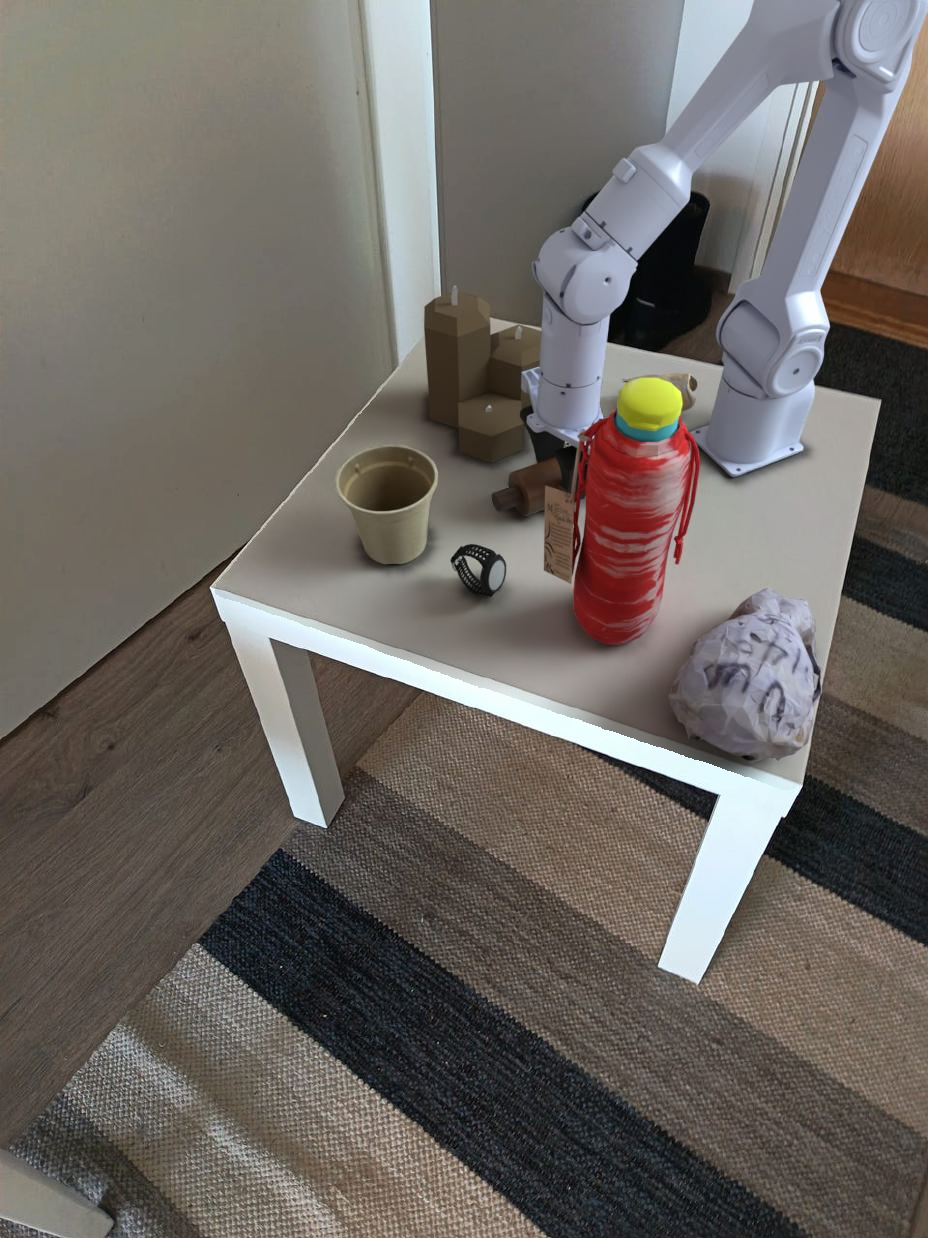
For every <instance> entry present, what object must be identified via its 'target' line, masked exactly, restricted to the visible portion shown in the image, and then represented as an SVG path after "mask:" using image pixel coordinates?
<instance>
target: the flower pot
mask: <svg viewBox="0 0 928 1238" xmlns="http://www.w3.org/2000/svg"><path fill="white" fill-rule="evenodd" d="M438 481H439V472H438V468H437V465H436V464H435V462H434V460H433V459H432V458H431V457H430V456H429V455H427V454H426V453H424V452H423V451H421V450H419V449H416V448H414V447H411V446H409V445H402V444H388V443H387V444H378V445H374V446H369V447H366V448H364V449H362V450H359V451H357V452H355V453H353V454H351V456H349V457H348V458H347V459H346V460H345V461H344V462H343V463H342V464H341V465H340V466H339V468H338V469H337V472H336V474H335V477H334V487H335V491H336V493H337V495H338V497H339V499H340V500H341V502H343V504H344V505H345V506H346V508H347V509H348V511H350V514H351V516H352V519H353V522H354V525H355V527H356V529H357V533H358V535H359V539H360V540H361V543H362V545H363V548H364V551H365V553H366V555H367V556H368V557H369V558H370V559H372V560H374V561H375V562H376V563H379V564H382V565H389V564H391V565H392V564H393V565H394V564H395V565H396V564H397V565H404V564H407V563H410V562H412V561H414V560H415V559H417V558H418V557H420V555H421V554H422V553H423V552H424V550H425V549H426V545H427V542H428V528H429V517H430V506H431V500H432V498H433V496H434V492H435V491H436V488H437V486H438Z"/></svg>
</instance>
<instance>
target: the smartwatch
mask: <svg viewBox="0 0 928 1238" xmlns="http://www.w3.org/2000/svg"><path fill="white" fill-rule="evenodd" d="M467 557H470V558H473V559H474V560H476V561H477V562H478V563H479V564H480V565H481V570H480V578H478V577H477V576H476V575H475V574H474V573H473V571H472V570H471V568H470V566H469V563H468V561H467ZM449 562H450V563H451V567H452V570H453V571H454V572H457V575H458V577H459V579H460V581H461V583H462V584H463V585H464V587H465V588H466V589H467V590H468V591H470V592H471V593H473V594H474V595H478V596H481V597H488V598H492V597H493V596H494V595H495V594H497V592H499V591H500V590H501V588H502V587H503V584H504V583H505V580H506V576H507V562H506V560H505V558H504V557H503V556H502V555H501V553H498V554H497V553H496V551H495V550H493V549H491V548H489V547H485V546H483V545H480V544H475V543H469V544H464V545H463V546H459V548H458V549H457V550H456V552H455V553H454V554H453V555H452V557H451V558H450V561H449Z"/></svg>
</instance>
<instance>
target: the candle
mask: <svg viewBox="0 0 928 1238" xmlns="http://www.w3.org/2000/svg"><path fill="white" fill-rule="evenodd" d="M423 309H424V312H423V313H424V314H423V315H424V316H423V333H424V346H425V358H426V359H425V360H426V376H427V377H426V378H427V390H428V405H429V419H430V420H432V421H434V422H438V423H441V424H444V425H447V426H450V427H453V428H455V429H458V442H459V443H458V445H459V448H458V449H459V453H461V454H464V455H466V456H470V457H473V458H476V459H479V460H481V461H484V462H488V463H490V464H492V463H495V462H498V461H499V460H503V459H505V458H508V457H509V456H512V455H514V454H517V453H519V452H522V451H523V444H524V443H523V442H524V426H525V424H524V422H523V421H522V419H521V417H520V411H521V410H522V409H523V408H525V407H528V406H531V405H532V403H531V399H530V395H529V393H525V392H524V391H523V390H522V389H521V375H522V372H524V371H527V370H530V369H533V368H536V367H540V348H541V330H540V329H536V328H532V327H529V326H525V325H522V324H516V325H514V326H510V327H507V328H504V329H502V330H499V331H496V332H494V333H491V314H490V313H491V312H490V303H487V302H486V301H485V300H483V299H482V298H481V297H479V296H478V295H477V296H476V295H473V294H469V293H465V292H462V291H459V289H458V286H457V285H454V286H453V287H452V291H451V292H449V293H446V294H443V295H440V296H437V297H434V298H433V299H432V300H431V301H429V302H428V303H427V304H426V305H424V308H423Z"/></svg>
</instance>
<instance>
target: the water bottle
mask: <svg viewBox="0 0 928 1238" xmlns="http://www.w3.org/2000/svg"><path fill="white" fill-rule="evenodd" d="M682 405H683V402H682V396H681V392H680V391H679V390H678V389H677V388H676V387H675V386H674V385H673V384H672V383H670V382H667V381H664V380H662V379H659V378H638V379H635V380H632V381H629V382H625V384H624V385H623V386H622V388H621V389H619V391H618V395H617V403H616V408H615V409H614V410H613V411H612V412H611V413H610V414H609V415H608V416H607V417H603V418H604V419H601V420H599V421H598V422H596V423H594V424H592V425H591V426H590V427H589V428H588V429H587V430H586V431H583V432H581V433H580V434H579V435H578V436H577V437H578V438H579V444H578V448H577V453H576V460H575V467H574V474H573V482H572V490H571V493H570V492H569V491H567V490H566V489H564V488H563V487H561V486H560V485H558V490H557V489H554V488H551V487H548V486H545V509H544V526H543V527H544V528H543V529H544V533H543V534H544V537H543V571H545V573H548V574H550V575H552V576H554V577H556V578H559V579H560V580H562V581H564V582H567V583H568V584H570V585H572V584H573V594H572V595H573V596H572V597H573V598H572V599H573V601H572V602H573V603H572V604H573V613H574V616H575V618H576V620H577V622H578V624H579V625H580V627H581V628H582V629H583V631H584V633H586V635H587V636H588V637H590V638H591V639H594V640H596V641H597V642H600V643H602V644H604V645H625V644H627V643H630V642H631V641H634V640H637V639H639V638H640V637H642V636H643V634H645V632H647V630H648V629H649V627H650V626H651V624H652V623H653V621H654V620H655V619H656V616H657V615H658V614H659V610H660V605H661V603H662V598H663V595H664V588H665V587H664V586H665V579H666V571H667V562H668V555H669V550H670V546H671V543H672V540H673V541H674V543H675V547H674V550H673V551H674V552H673V558H674V559H675V561H674V564H675V565H679V564H680V561H681V557H682V555H683V549H684V548H683V547H684V538H683V537H685V536H686V535H687V533H688V528H689V526H690V525H689V524H690V523H691V522H690V521H691V518H692V515H693V510H694V507H695V501H696V495H697V489H698V483H699V476H700V470H701V460H700V450H699V446H698V444H697V443H696V442H695V439H694V437H693V436H692V435H691V434H690V432H691V431H689V430H688V427H687V425H686V424H685V423H684V422H683V419H682V416H681V414H682V412H681V409H682ZM587 436H588V437H587ZM593 436H594V438H593ZM592 438H593V439H592ZM585 441H586V444H585ZM589 445H590V454H589V456H588V449H589ZM581 449H582V452H583V457H582V461H581V462H580V463H579V461H580V454H581ZM587 461H588V468H587V476H586V481H585V480H584V479H583V475H584V469H585V463H586V462H587ZM578 473H579V483H578V491H577V493H576V494H575V491H576V482H577V475H578ZM582 484H583V489H582ZM585 491H586V496H585V516H584V517H585V518H584V526H583V536H582V540H581V533H580V528H579V527H580V526H579V517H580V516H579V515H580V507H581V500H580V499H581V494H583V493H584V492H585ZM576 499H577V500H576ZM575 500H576V502H575ZM680 514H681V516H680ZM679 517H680V522H679V527H678V532H677V535H675V536H674V537H673V534H674V530H675V528H676V526H677V523H678V520H679ZM672 538H673V539H672ZM577 556H578V560H576V559H577ZM576 561H577V564H576ZM575 564H576V567H575ZM574 570H575V571H574ZM574 572H575V573H574ZM573 575H574V578H573ZM573 579H574V581H573Z"/></svg>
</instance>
